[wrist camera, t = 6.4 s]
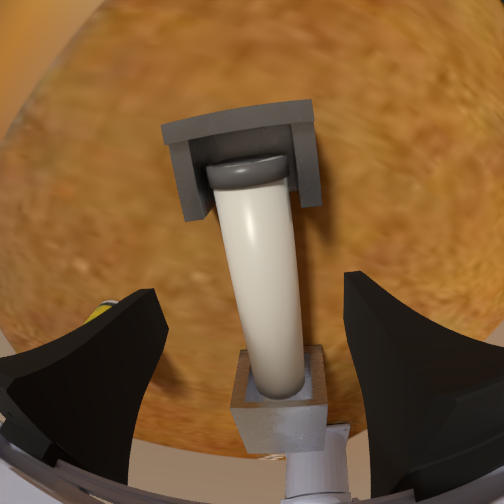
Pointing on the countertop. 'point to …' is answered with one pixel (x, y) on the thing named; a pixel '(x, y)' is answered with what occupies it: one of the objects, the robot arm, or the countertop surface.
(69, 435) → the robot arm
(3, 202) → the countertop surface
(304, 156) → the socket
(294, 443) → the sleeve
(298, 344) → the tube
